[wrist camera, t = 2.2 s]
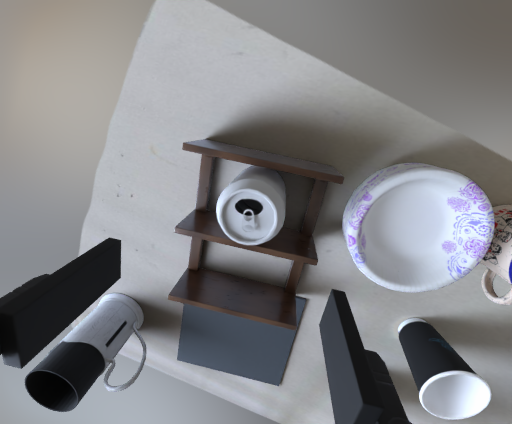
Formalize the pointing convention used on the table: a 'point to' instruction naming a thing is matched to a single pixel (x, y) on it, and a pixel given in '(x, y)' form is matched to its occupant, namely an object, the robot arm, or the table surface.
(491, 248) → the teacup with lid
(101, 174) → the table surface
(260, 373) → the mat
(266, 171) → the can
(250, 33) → the table surface
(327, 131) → the table surface
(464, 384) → the dixie cup
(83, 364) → the glass holder
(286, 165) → the rack
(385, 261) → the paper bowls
